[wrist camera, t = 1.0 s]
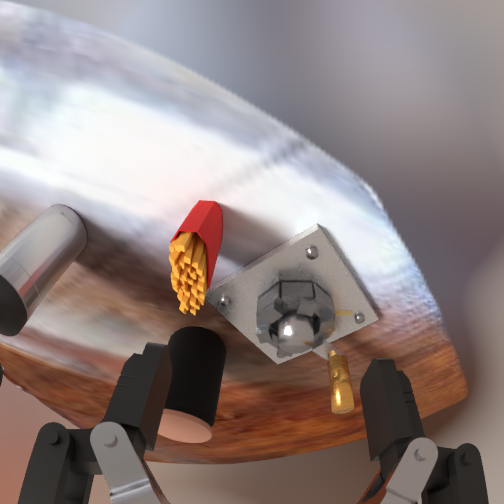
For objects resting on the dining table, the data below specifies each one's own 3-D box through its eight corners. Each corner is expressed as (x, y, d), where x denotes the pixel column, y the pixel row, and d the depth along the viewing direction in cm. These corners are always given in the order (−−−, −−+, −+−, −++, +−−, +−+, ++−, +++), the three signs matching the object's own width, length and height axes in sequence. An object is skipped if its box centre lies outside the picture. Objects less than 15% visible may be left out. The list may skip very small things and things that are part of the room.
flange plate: (277, 358, 56) (276, 393, 49) (204, 289, 48) (193, 327, 41) (376, 313, 48) (387, 349, 41) (317, 223, 40) (324, 257, 33)
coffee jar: (188, 364, 59) (168, 442, 44) (159, 329, 54) (129, 413, 39) (236, 356, 56) (224, 442, 41) (210, 318, 51) (188, 412, 36)
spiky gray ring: (242, 310, 47) (232, 382, 36) (297, 269, 42) (301, 343, 31) (315, 359, 52) (319, 424, 41) (366, 328, 48) (382, 396, 36)
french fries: (191, 193, 39) (157, 246, 28) (223, 194, 39) (201, 250, 28) (193, 252, 44) (168, 317, 33) (223, 255, 44) (205, 321, 33)
